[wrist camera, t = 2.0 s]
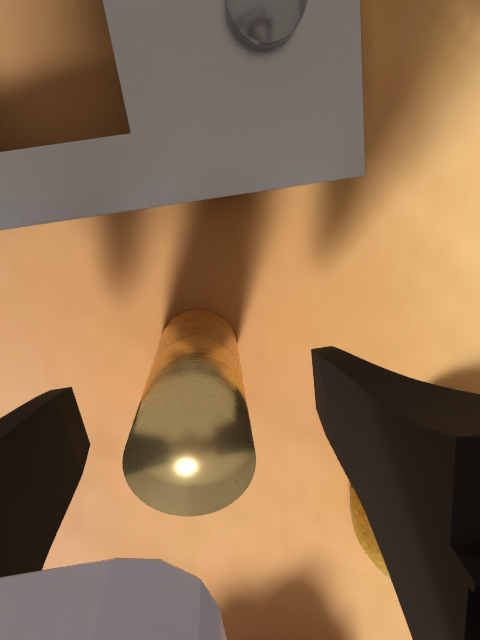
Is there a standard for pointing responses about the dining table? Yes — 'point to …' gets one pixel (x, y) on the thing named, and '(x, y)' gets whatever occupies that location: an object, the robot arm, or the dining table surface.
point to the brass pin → (192, 421)
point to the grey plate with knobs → (207, 110)
